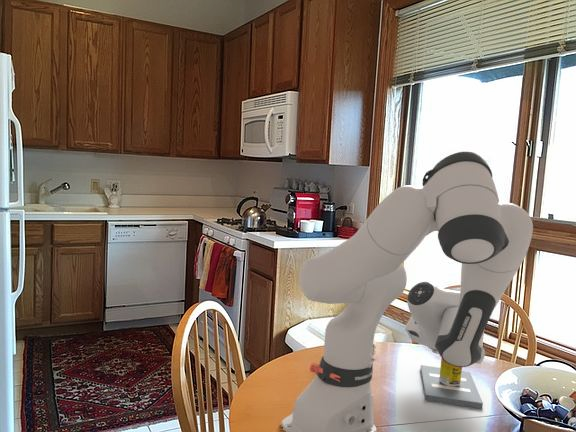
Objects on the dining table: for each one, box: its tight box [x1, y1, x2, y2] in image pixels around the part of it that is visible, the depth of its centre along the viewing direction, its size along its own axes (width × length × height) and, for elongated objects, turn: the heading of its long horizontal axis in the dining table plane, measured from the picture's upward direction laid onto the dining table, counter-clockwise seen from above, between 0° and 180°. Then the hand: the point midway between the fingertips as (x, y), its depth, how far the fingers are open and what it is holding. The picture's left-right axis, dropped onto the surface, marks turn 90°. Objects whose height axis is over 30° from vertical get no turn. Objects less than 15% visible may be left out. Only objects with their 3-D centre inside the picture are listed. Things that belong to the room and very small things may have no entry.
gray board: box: [419, 364, 484, 410], centre depth 134 cm, size 20×14×2 cm
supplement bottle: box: [439, 357, 463, 386], centre depth 133 cm, size 6×6×10 cm
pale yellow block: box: [372, 340, 377, 356], centre depth 152 cm, size 10×9×6 cm
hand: (452, 356), depth 134 cm, fingers open, 8 cm apart
